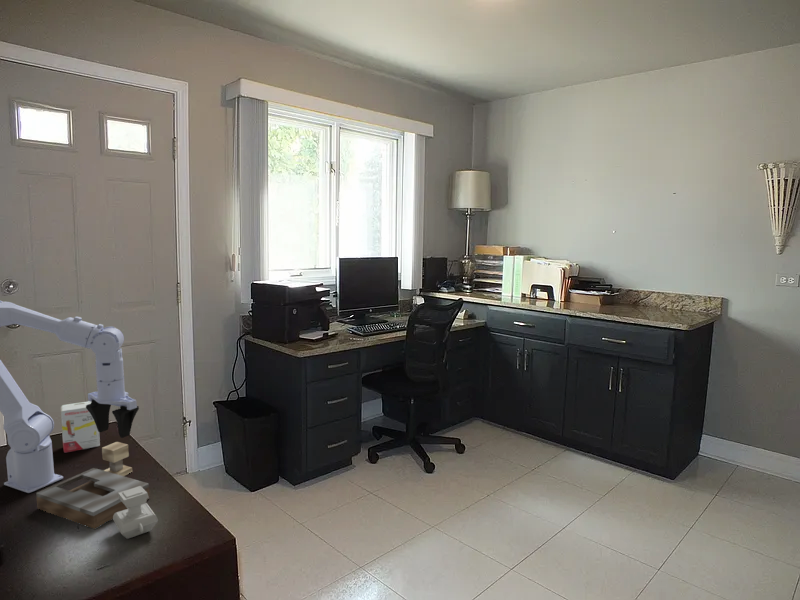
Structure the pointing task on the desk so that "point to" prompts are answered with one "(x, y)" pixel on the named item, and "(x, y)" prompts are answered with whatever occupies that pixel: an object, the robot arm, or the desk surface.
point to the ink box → (78, 427)
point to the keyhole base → (80, 515)
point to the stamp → (134, 513)
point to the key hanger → (116, 458)
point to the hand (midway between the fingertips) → (114, 433)
